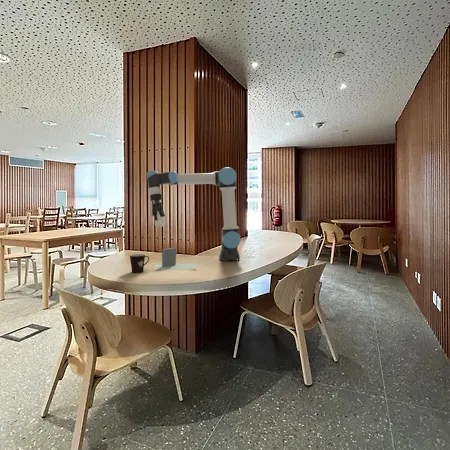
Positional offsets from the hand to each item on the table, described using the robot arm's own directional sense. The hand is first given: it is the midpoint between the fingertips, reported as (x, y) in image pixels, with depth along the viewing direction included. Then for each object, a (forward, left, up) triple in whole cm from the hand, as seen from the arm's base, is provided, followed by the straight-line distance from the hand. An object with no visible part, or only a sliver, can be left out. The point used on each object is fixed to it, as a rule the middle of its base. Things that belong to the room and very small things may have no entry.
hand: (160, 226), depth 205 cm
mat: (-10, +11, -26) cm, 30 cm away
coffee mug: (+10, +21, -26) cm, 35 cm away
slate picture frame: (-6, +7, -25) cm, 27 cm away
